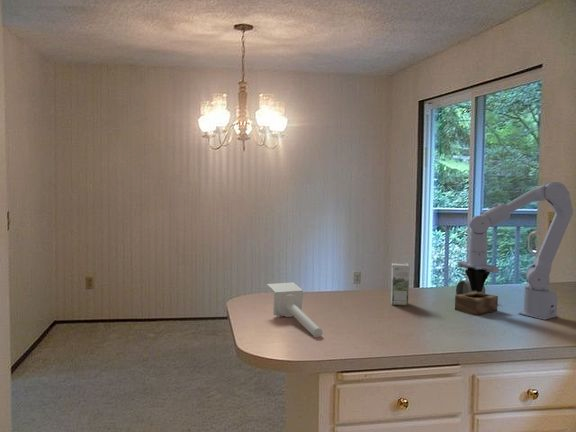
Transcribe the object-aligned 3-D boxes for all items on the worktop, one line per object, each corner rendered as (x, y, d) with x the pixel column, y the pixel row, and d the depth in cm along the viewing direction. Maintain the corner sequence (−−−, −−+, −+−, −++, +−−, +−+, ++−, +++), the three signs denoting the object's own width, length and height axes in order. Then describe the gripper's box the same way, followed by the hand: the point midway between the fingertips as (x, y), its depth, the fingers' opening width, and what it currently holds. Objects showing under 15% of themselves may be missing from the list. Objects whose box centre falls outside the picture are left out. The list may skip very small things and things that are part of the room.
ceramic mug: (486, 301, 201) (487, 280, 200) (468, 303, 198) (468, 282, 197) (467, 296, 211) (468, 276, 210) (449, 297, 208) (450, 277, 207)
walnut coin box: (474, 305, 195) (474, 291, 194) (497, 310, 187) (497, 296, 187) (454, 309, 188) (455, 295, 188) (477, 315, 181) (478, 300, 181)
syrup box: (406, 302, 198) (407, 262, 197) (408, 306, 193) (409, 264, 192) (390, 301, 199) (391, 261, 198) (391, 305, 193) (392, 264, 192)
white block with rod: (293, 282, 184) (333, 317, 155) (292, 307, 186) (331, 346, 157) (267, 284, 181) (303, 319, 152) (265, 309, 183) (301, 349, 154)
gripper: (452, 249, 190) (451, 288, 191) (490, 254, 178) (488, 296, 179) (465, 248, 194) (464, 286, 195) (502, 253, 182) (501, 293, 183)
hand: (476, 291), depth 187 cm, fingers closed
